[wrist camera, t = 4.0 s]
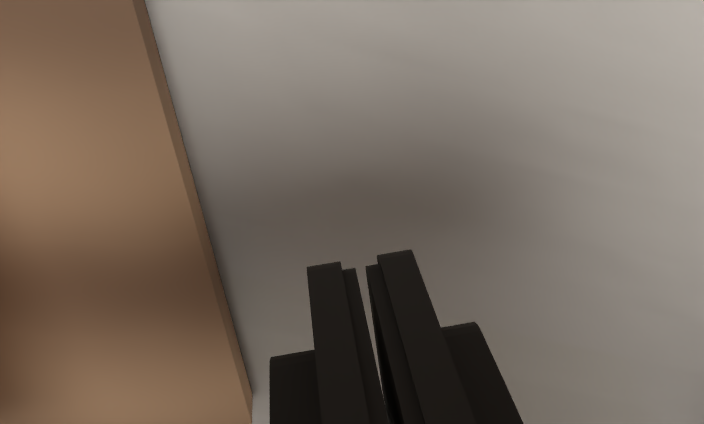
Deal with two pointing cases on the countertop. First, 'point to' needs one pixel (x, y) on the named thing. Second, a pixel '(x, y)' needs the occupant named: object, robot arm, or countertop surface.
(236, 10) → the countertop surface
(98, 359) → the board
